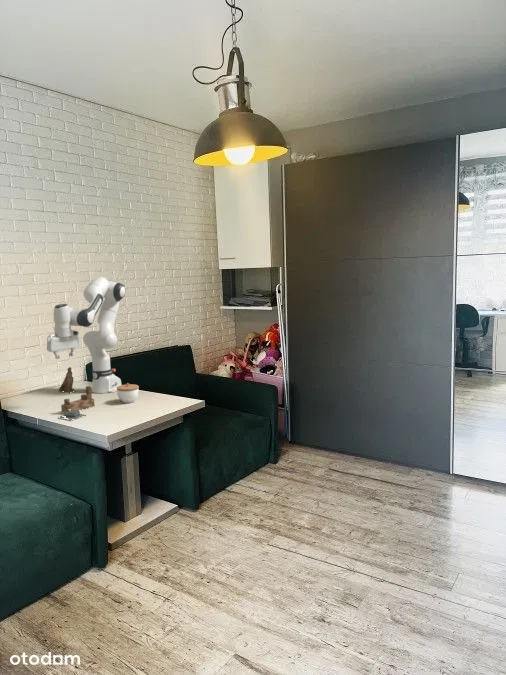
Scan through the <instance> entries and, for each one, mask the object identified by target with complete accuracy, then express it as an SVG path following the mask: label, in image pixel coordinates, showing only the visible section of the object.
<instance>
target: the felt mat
mask: <svg viewBox="0 0 506 675" xmlns="http://www.w3.org/2000/svg"><path fill="white" fill-rule="evenodd" d="M62 416H63V415H60V416H59V417H60V418H64V417H62ZM82 416H85V417H87V414H84V413H83V414H82V413H80V416H78V417H75V418H74V417H67V416H66V418H68V419H69V420H72V419H75V420H77V419H76V418H78V419H80V418H79V417H82ZM82 418H83V417H82ZM69 420H68V421H69ZM72 421H73V420H72Z"/></svg>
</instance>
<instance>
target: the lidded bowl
mask: <svg viewBox="0 0 506 675" xmlns="http://www.w3.org/2000/svg"><path fill="white" fill-rule="evenodd" d="M139 388H140V386H139V385H138V384H134V383H133V384H131V383H129V382H127V383H126V384H122V385H121V386H118V387H117V391H116V392H117V397H118V400H119V401H121V403H123V404H132V403H134V402H135V401H136V400H137V398H138V396H139V391H140V390H139Z"/></svg>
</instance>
